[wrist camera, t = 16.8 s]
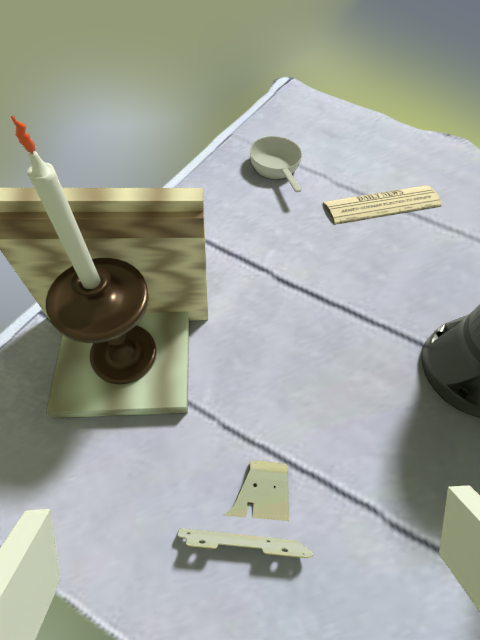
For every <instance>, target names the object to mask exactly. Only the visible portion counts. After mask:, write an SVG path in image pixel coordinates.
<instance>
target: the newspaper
mask: <svg viewBox="0 0 480 640" xmlns="http://www.w3.org/2000/svg"><path fill="white" fill-rule="evenodd" d="M324 203H325V205H327V206H328V208H329V209H330V211H331V213H332V215H333V218H334V221H335V224H339V223H345V222H351V221H357V220H362V219H368V218H374V217H380V216H386V215H392V214H398V213H404V212H409V211H415V210H421V209H427V208H433V207H439V206H441V205H442V203H441V200H440V198H439V196H438V195H437V193H436V192H435V191H434V190H433V189H432V188H431V187H430V186H427V185H426V186H420V187H414V188H407V189H401V190H395V191H389V192H382V193H376V194H370V195H364V196H357V197H351V198H345V199H339V200H332V201H326V202H323V204H324Z"/></svg>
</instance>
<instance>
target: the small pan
mask: <svg viewBox="0 0 480 640" xmlns="http://www.w3.org/2000/svg"><path fill="white" fill-rule="evenodd" d="M301 157H302V152H301V149H300V148H299V146H298V145H297V144H296V143H294V142H293V141H291V140H289V139H286V138H282V137H274V136H271V137H264V138H261V139H259V140H257V141H255V142H254V143H253V144H252V146H251V148H250V159H251V162H252V165H253V167H254V168H255V170H256V171H257V172H258V173H259V174H260V175H262V176H264V177H266V178H270V179H282V178H287V179H288V181H289V183H290V184H291V186H292V187H293V189H294V191H295V192H300V191H301V188H300V187H299V185H298V183H297V182H296V180H295V179H294V177H293V176H292V173H293V172H294V171H295V170H296V169H297V167H298V166H299V163H300V161H301Z"/></svg>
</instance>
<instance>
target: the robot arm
mask: <svg viewBox="0 0 480 640" xmlns="http://www.w3.org/2000/svg"><path fill="white" fill-rule="evenodd" d="M422 363H423V368H424V371H425V374H426V376H427V378H428V380H429V382H430V383H431V385H432V386H433V388H434V389H435V390H436V391H437V392H438V394H439V395H440V396H441V397H442V398H444V399H445V400H446V401H447V402H448V403H450V404H451V405H453V406H454V407H456V408H457V409H459V410H461V411H463V412H466V413H468V414H471V415H474V416H478V417H480V305H479V306H478V307H476V309H475V310H474V311H472V312H471V313H470V314H469V315H466V316H464V317H461V318H458V319H456V320H453V321H450V322H448V323H445V324H444V325H442V326H440V327H439V328H438V329H437V330H435V331H434V333H433V334H432V335H431V336H430V337H429V338H428V339H427V341H426V342H425V344H424V347H423V351H422ZM439 555H440V556H441V558H442V559H443V561H444V562H445V563H446V565H447V566H448V568H449V569H450V570H451V572H452V573H453V575H454V576H455V578H456V579H457V580H458V582H459V583H460V585H461V586H462V588H463V589H464V590H465V592H466V593H467V595H468V596H469V597H470V599H471V600H472V602H473V603H474V605H475V606H476V607H477V609H478V610H479V612H480V495H479V494H478V493H477V492H476V491H475V490H474V489H473V488H472V487H471V486H470V485H469V486H451V487H448V491H447V498H446V506H445V513H444V521H443V528H442V535H441V543H440V550H439ZM59 582H60V574H59V566H58V559H57V552H56V545H55V537H54V530H53V523H52V516H51V509H43V510H25V512H24V513H23V515H22V517H21V518H20V520H19V521H18V523H17V524H16V526H15V527H14V529H13V530H12V532H11V533H10V535H9V536H8V538H7V539H6V541H5V542H4V544H3V545H2V547H1V548H0V640H35V639H36V636H37V634H38V632H39V629H40V627H41V624H42V622H43V620H44V618H45V615H46V613H47V610H48V608H49V606H50V603H51V601H52V599H53V596H54V594H55V592H56V590H57V587H58V585H59Z"/></svg>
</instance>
